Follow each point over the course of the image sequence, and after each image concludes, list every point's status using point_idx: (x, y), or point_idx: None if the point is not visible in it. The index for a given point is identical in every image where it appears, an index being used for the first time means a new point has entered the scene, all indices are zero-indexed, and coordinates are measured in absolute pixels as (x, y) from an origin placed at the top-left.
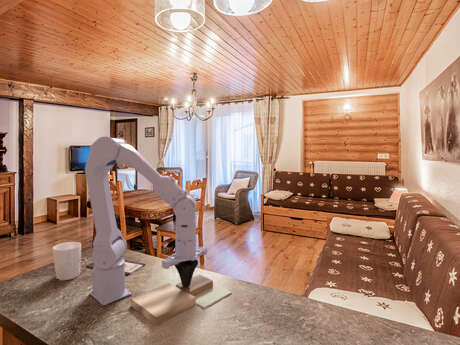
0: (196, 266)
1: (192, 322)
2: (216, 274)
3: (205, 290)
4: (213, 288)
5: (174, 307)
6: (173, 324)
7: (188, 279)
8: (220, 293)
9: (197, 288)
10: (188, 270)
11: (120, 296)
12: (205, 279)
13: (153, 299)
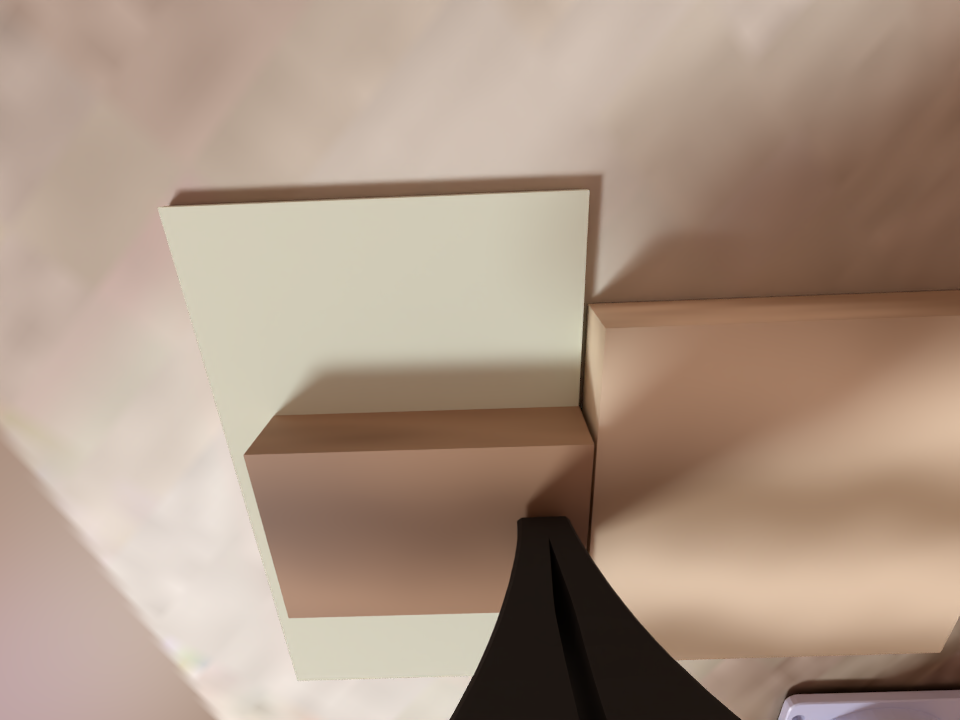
0: (457, 716)
1: (837, 81)
2: (106, 560)
3: (373, 414)
4: (283, 394)
5: (888, 329)
6: (949, 197)
7: (568, 573)
8: (281, 274)
9: (477, 444)
10: (639, 695)
11: (865, 708)
12: (298, 519)
13: (865, 550)
